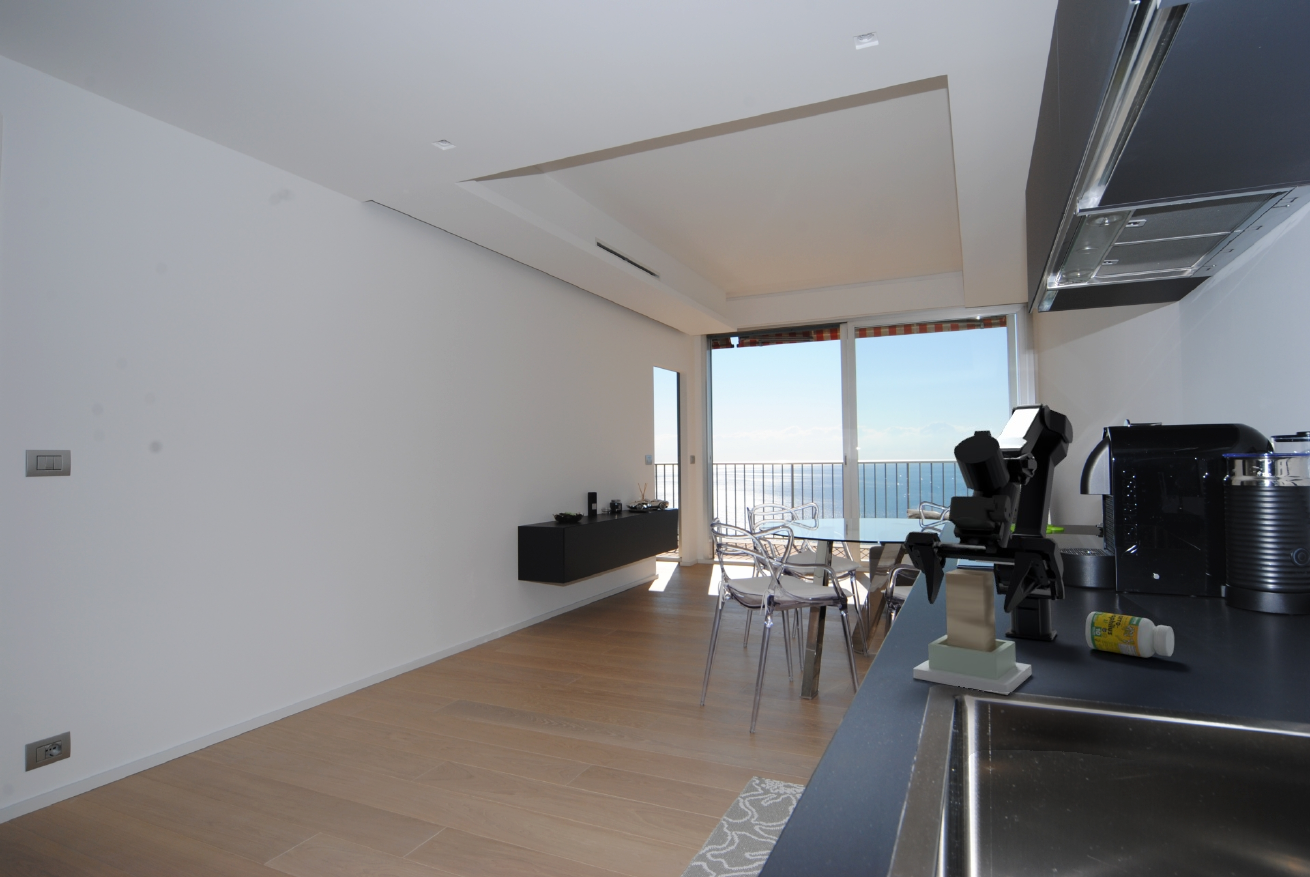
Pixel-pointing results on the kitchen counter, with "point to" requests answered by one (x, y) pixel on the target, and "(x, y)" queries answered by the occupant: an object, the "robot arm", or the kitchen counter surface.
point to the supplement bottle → (1128, 635)
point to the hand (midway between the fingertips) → (966, 606)
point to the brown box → (970, 609)
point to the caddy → (973, 666)
